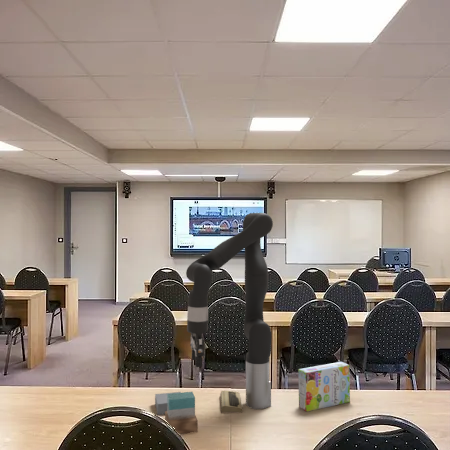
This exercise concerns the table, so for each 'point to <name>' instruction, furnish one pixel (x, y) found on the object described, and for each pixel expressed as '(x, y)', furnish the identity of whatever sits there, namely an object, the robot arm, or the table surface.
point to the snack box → (324, 386)
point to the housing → (180, 405)
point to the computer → (230, 402)
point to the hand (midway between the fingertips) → (196, 363)
